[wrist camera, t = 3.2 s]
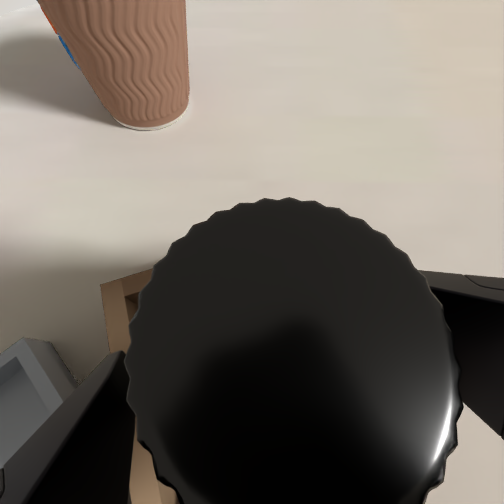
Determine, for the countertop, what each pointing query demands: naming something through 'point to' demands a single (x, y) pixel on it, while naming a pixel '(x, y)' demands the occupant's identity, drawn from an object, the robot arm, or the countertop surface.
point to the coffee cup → (128, 55)
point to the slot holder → (117, 320)
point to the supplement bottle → (292, 363)
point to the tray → (30, 392)
